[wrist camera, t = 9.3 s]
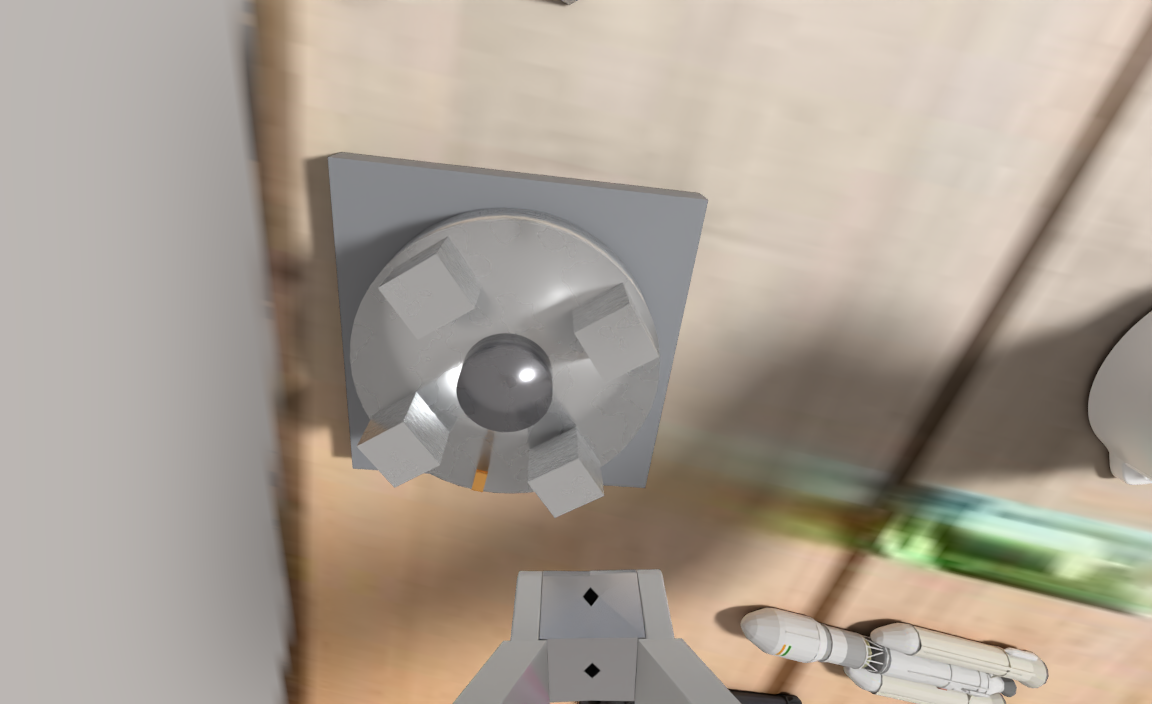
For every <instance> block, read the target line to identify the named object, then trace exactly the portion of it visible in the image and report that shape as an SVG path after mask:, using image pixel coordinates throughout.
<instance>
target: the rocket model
mask: <svg viewBox="0 0 1152 704" xmlns="http://www.w3.org/2000/svg"><path fill="white" fill-rule="evenodd" d="M740 625H741V629H742V631H743V633H744V634H745V636H746V637H747V639H749V640H750V641H751V642H752V643H753V644H755V645H756V646H757V647H758V648H759V649H760V650H762V651H763V652H765V653H768V654H771V655H775V656H779V657H783V658H787V659H791V660H795V661H799V662H804V663H810V662H815V661H819V662H829V663H833V664H838V665H842V666H843V669H844V672H845V673H846V675H847V676H848V677H849V678H850V679H851V680H852V681H853V682H854V683H855V684H856V685H857V686H859V687H860V688H862V689H864V690H867V691H869V692H871V693H872V694H876V695H880V696H885V697H889V698H894V699H899V700H903V701H908V702H912V703H917V704H1006V702H1005V700H1004V698H1003V696H1002V695H1001V694H1003V695H1004V696H1007V697H1012V696H1013V695H1015V694H1016V688H1017V687H1016V685H1015V682H1014V681H1013V680H1012V679H1014V680H1018V681H1019V682H1020V683H1022V684H1023V685H1025V686H1027V687H1030V688H1038V687H1040V686H1042V685H1043V684H1045V683H1046V681H1047V679H1048V677H1049V676H1048V669H1047V667H1046V665H1045V663H1044V662H1043V661H1042V660H1041V659H1040V658H1039V657H1038V656H1037V655H1036V654H1034V653H1033V652H1030V651H1022V650H1018V649H1015V648H1010V647H1009V648H1006V649H1003V648H1001V647H999V646H993V645H992V646H991V645H987V644H983V643H979V642H975V641H971V640H967V639H964V638H960V637H956V636H952V635H948V634H944V633H940V632H936V631H932V630H928V629H924V628H920V627H916V626H912V625H911V624H906V623H893V624H889V625H886V626H882V627H879V628H876V629H875V630H873V631H872V632H871V634H870V636H868V637H867V636H863V635H860V634H858V633H856V632H851V631H847V630H843V629H838V628H834V627H830V626H826V625H825V624H822V623H818V622H817V621H815V620H814V619H813V618H811V617H809V616H804V615H800V614H796V613H792V612H788V611H784V610H780V609H776V608H763V609H760V610H757V611H754V612H751V613H748V614H746V615H745V616H744V618H743V619H742V620H741V623H740ZM864 637H866V638H864ZM1000 693H1001V694H1000Z"/></svg>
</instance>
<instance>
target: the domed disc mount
mask: <svg viewBox="0 0 1152 704" xmlns="http://www.w3.org/2000/svg"><path fill="white" fill-rule="evenodd" d="M350 362H351V371H352V377H353V380H354V384H355V388H356V392H357V394H358V397H359V399H360V401H361V404H362V406H363V408H364V410H365V412H366V414H367V415H368V417H369V419H370V422H369V424H368V426H367V427H366V429H365V431H364V433H363V435H362V437H361V439H360V441H359V443H358V444H357V447H358V449H359V450H360V451H361V452H362V453H363V454H364V455H365V456H366V457H367V458H368V459H369V460H370V462H371V463H372V464H373V465H374V466H375V467H376V468H377V469H378V470H379V471H380V472H381V473H382V475H383V476H384V477H385V478H386V479H387V480H388V481H389V482H390V483H391V484H392V485H393V487H394V488H395V487H397V486H399V485H401V484H403V483H405V482H407V481H409V480H411V479H413V478H415V477H417V476H419V475H421V474H423V473H425V472H427V473H430V474H432V475H434V476H436V477H438V478H440V479H442V480H445V481H447V482H450V483H453V484H456V485H458V486H462V487H466V488H470V489H472V490H474V491H480V492H483V491H486V492H493V493H528V492H535V493H536V494H537V495H538V497H539V498H540V499H541V501H542V502H543V503H544V505H545V506H546V507H547V508H548V510H549V511H550V512H551V514H552V515H553V516H554V518H556V517H558V516H560V515H563V514H565V513H567V512H569V511H571V510H574V509H576V508H578V507H580V506H583V505H585V504H587V503H589V502H591V501H594V500H596V499H598V498H600V497H603V496H604V489H603V480H602V472H601V467H602V466H603V465H605V464H606V463H608V462H609V461H610V460H612V459H613V458H614V457H615V456H616V455H617V454H618V453H620V452H621V451H622V450H623V449H624V448H625V447H626V446H627V444H628V443H629V442H630V441H631V440H632V439H633V438H634V436H635V435H636V434H637V432H638V431H639V429H640V428H641V426H642V425H643V423H644V421H645V419H646V417H647V415H648V413H649V411H650V409H651V407H652V404H653V401H654V398H655V395H656V392H657V386H658V381H659V375H660V351H659V343H658V337H657V333H656V330H655V326H654V323H653V320H652V317H651V315H650V312H649V310H648V307H647V305H646V302H645V300H644V298H643V295H642V293H641V291H640V289H639V286H638V284H637V282H636V281H635V279H634V278H633V276H632V274H631V273H630V271H629V270H628V268H627V267H626V266H625V265H624V263H623V262H622V261H621V260H620V259H619V257H618V256H617V255H616V254H615V253H614V252H613V251H612V250H611V249H610V248H608V247H607V246H606V245H605V244H604V243H603V242H602V241H601V240H599V239H598V238H596V237H595V236H593V235H592V234H590V233H589V232H588V231H586V230H585V229H583V228H581V227H579V226H577V225H575V224H573V223H571V222H569V221H567V220H564V219H561V218H558V217H556V216H553V215H550V214H547V213H542V212H537V211H533V210H528V209H517V208H491V209H481V210H476V211H471V212H466V213H462V214H459V215H456V216H453V217H450V218H447V219H445V220H443V221H441V222H439V223H437V224H435V225H433V226H431V227H429V228H427V229H426V230H424V231H423V232H421V233H420V234H418V235H417V236H416V237H414V238H413V239H411V240H410V241H409V242H408V243H407V244H406V245H405V246H404V247H403V248H402V249H401V250H400V251H399V252H398V253H397V254H396V255H395V256H394V257H393V258H392V259H391V261H390V262H389V263H388V264H387V265H386V266H385V267H384V268H383V270H382V271H381V272H380V273H379V275H378V276H377V277H376V279H375V280H374V281H373V282H372V284H371V285H370V287H369V288H368V290H367V292H366V294H365V296H364V297H363V299H362V301H361V303H360V306H359V308H358V311H357V314H356V317H355V319H354V324H353V329H352V334H351V342H350Z"/></svg>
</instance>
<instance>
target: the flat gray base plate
mask: <svg viewBox="0 0 1152 704" xmlns="http://www.w3.org/2000/svg"><path fill="white" fill-rule="evenodd" d="M328 167H329V179H330V191H331V204H332V216H333V229H334V241H335V254H336V266H337V278H338V291H339V303H340V316H341V328H342V341H343V353H344V365H345V378H346V390H347V403H348V415H349V428H350V440H351V452H352V465H353V468H354V469H369V470H378V469H377V468H376V467H375V466H374V465H373V464H372V463H371V462H370V460H369V459H368V458H367V457H366V456H365V455H364V454H363V453H362V452H361V451H360V450H359V449H358V447H357V444H358V443H359V441H360V439H361V437H362V435H363V433H364V431H365V429H366V427H367V426H368V424H369V422H370V419H369V417H368V415H367V414H366V412H365V410H364V408H363V406H362V404H361V401H360V399H359V397H358V394H357V392H356V388H355V384H354V380H353V377H352V371H351V362H350V342H351V334H352V329H353V324H354V319H355V317H356V314H357V311H358V308H359V306H360V303H361V301H362V299H363V297H364V296H365V294H366V292H367V290H368V288H369V287H370V285H371V284H372V282H373V281H374V280H375V279H376V277H377V276H378V275H379V273H380V272H381V271H382V270H383V268H384V267H385V266H386V265H387V264H388V263H389V262H390V261H391V259H392V258H393V257H394V256H395V255H396V254H397V253H398V252H399V251H400V250H401V249H402V248H403V247H404V246H405V245H406V244H407V243H408V242H409V241H410V240H411V239H413V238H414V237H416V236H417V235H418V234H420V233H421V232H423V231H424V230H426V229H427V228H429V227H431V226H433V225H435V224H437V223H439V222H441V221H443V220H445V219H447V218H450V217H453V216H456V215H459V214H462V213H466V212H471V211H476V210H481V209H491V208H517V209H528V210H533V211H537V212H542V213H547V214H550V215H553V216H556V217H558V218H561V219H564V220H567V221H569V222H571V223H573V224H575V225H577V226H579V227H581V228H583V229H585V230H586V231H588V232H589V233H590V234H592V235H593V236H595V237H596V238H598V239H599V240H601V241H602V242H603V243H604V244H605V245H606V246H607V247H608V248H610V249H611V250H612V251H613V252H614V253H615V254H616V255H617V256H618V257H619V259H620V260H621V261H622V262H623V263H624V265H625V266H626V267H627V268H628V270H629V271H630V273H631V274H632V276H633V278H634V279H635V281H636V282H637V284H638V286H639V289H640V291H641V293H642V295H643V298H644V300H645V302H646V305H647V307H648V310H649V312H650V315H651V317H652V320H653V323H654V326H655V330H656V333H657V337H658V343H659V351H660V375H659V381H658V386H657V392H656V395H655V398H654V401H653V404H652V407H651V409H650V411H649V413H648V415H647V417H646V419H645V421H644V423H643V425H642V426H641V428H640V429H639V431H638V432H637V434H636V435H635V436H634V438H633V439H632V440H631V441H630V442H629V443H628V444H627V446H626V447H625V448H624V449H623V450H622V451H621V452H620V453H618V454H617V455H616V456H615V457H614V458H613V459H612V460H610V461H609V462H608V463H606V464H605V465H603V466H602V467H601V472H602V480H603V485H607V486H622V487H637V488H645V486H646V482H647V477H648V473H649V468H650V464H651V459H652V454H653V450H654V445H655V441H656V436H657V432H658V427H659V423H660V418H661V413H662V409H663V404H664V400H665V395H666V391H667V386H668V381H669V377H670V372H671V368H672V363H673V359H674V354H675V349H676V345H677V340H678V336H679V331H680V327H681V322H682V318H683V313H684V308H685V304H686V299H687V295H688V290H689V286H690V281H691V276H692V272H693V267H694V263H695V258H696V254H697V249H698V244H699V240H700V235H701V231H702V226H703V222H704V217H705V213H706V208H707V203H708V199H706V198H705V197H704V196H703V195H701V194H700V193H695V192H686V191H678V190H669V189H660V188H651V187H643V186H634V185H625V184H616V183H607V182H599V181H590V180H581V179H572V178H564V177H555V176H546V175H537V174H529V173H520V172H511V171H502V170H494V169H485V168H476V167H467V166H459V165H450V164H441V163H432V162H424V161H415V160H406V159H397V158H388V157H380V156H371V155H362V154H353V153H345V152H340V153H337V154H335V155H332V156H329V157H328ZM425 473H427V472H425ZM428 474H430V473H428Z"/></svg>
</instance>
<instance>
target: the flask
mask: <svg viewBox="0 0 1152 704" xmlns="http://www.w3.org/2000/svg"><path fill="white" fill-rule="evenodd" d="M561 1H563V2H565V3H567V4H569V5H571V4H572V3H574V2H576V1H577V0H561Z"/></svg>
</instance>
